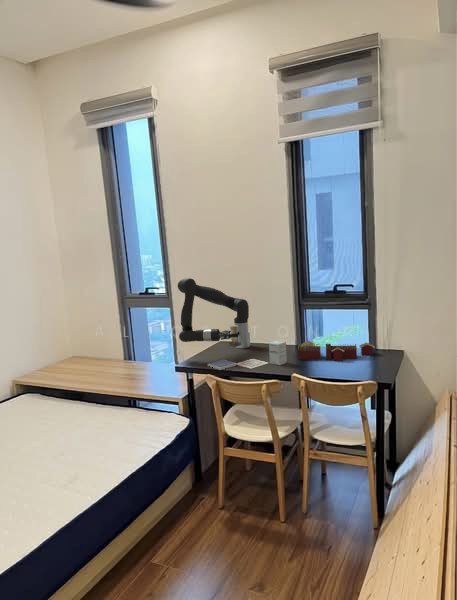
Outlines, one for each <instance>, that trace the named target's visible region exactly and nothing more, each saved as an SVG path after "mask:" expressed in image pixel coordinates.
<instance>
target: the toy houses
mask: <svg viewBox="0 0 457 600" xmlns="http://www.w3.org/2000/svg"><path fill="white" fill-rule="evenodd" d="M358 346H359V347H357V344H351V343H350V344H346V343H344V344H342V343H339V345H334V344H332V345H331V342H330V341H328V343H326V344H325V358H326V359H325V361H332V360H333V362H343V360H357V359H358V351H357V350H358V349H357V348H359V349H360V355H361V356H364V357H367V356H371V357H372V356H374V349H375V345H373V344H371V343H369V342H365V343H362V344H360V345H358ZM297 360H298V361H321V345H320V343H319V344H317V345H316V344H315V343H314V342H312V341H310V340H307V341H304V342H302V343H301V344H297Z"/></svg>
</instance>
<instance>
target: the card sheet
mask: <svg viewBox="0 0 457 600" xmlns="http://www.w3.org/2000/svg"><path fill="white" fill-rule="evenodd" d="M268 364H269V362H266V361H262V360H259V359H255V358H250V359H247V360H243V361H239V362H237V363H236V366H240V367H242V368H243V367H244V368H247V369H249V370H250V369H251V370H252V369H255V368H258V367H261V366H264V365H268Z"/></svg>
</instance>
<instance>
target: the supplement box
mask: <svg viewBox="0 0 457 600" xmlns="http://www.w3.org/2000/svg"><path fill="white" fill-rule="evenodd" d="M268 350H269V351H268V352H269V364H272V365H278V366H282V365H284V364H286V363H287V341H281V340H273V341H271V342H269V343H268Z"/></svg>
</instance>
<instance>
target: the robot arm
mask: <svg viewBox="0 0 457 600" xmlns="http://www.w3.org/2000/svg"><path fill="white" fill-rule="evenodd" d="M177 288H178V291H179V292H180V293H183V294H184V300H183V306H182V309H181V311H180V312H181V313H180V325H181V330H182V331H180V332H179V335H178V338H179V341H181V342H183V343H190V342H191V343H192V342H220V340H230V339H231V338H232V337H238V342H241V345H240V346H236V347H235V348H236V349H246V348H250V347H251V338H250V337H251V335H250V332H249V314H250V313H249V311H250V310H249V309H250V306H249V303H248V302H249V301H247V300H246V299H244V298H238V297H233V296H229V295H227V294H226V293H224V292H223V291H221V290H219V289H216V288H213V287H209V286H204V285H199V284H197V283H196V281H195V279H193V278H183V279H180V280H179V281H178V282H177ZM195 297H197V298H199V299H200V300H204V301H206V302H209V303H211V304H215V305H218V306H222V307H226V308H227V309H230V310H232V311H234V312H236V317H235V318H234V319H233V322H234V324H233V325H237V326H238V328H237V333H234V334H231V330H222V331H221V330H220V329H219V328H211V329H208V328H207V329H198V330H197V329H196V330H193V309H194V301H195Z"/></svg>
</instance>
